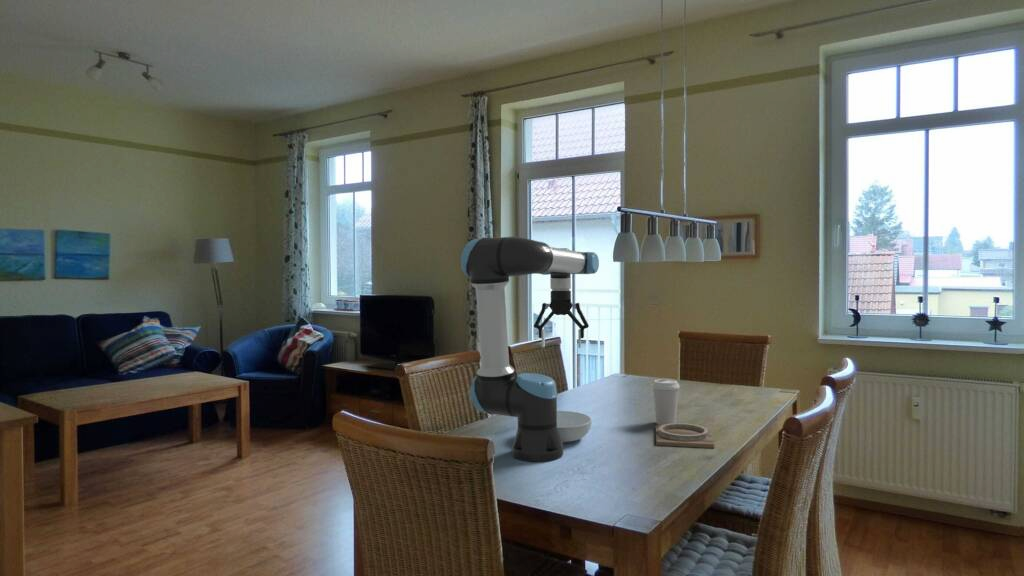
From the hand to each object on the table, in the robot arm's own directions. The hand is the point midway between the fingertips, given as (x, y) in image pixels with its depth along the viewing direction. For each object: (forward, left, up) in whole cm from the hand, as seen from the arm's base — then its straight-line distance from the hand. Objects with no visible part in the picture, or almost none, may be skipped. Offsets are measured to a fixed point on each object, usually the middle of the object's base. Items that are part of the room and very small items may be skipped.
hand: (561, 347), depth 225 cm
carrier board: (-22, -42, -26) cm, 54 cm away
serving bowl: (-30, -3, -26) cm, 40 cm away
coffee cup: (-5, -37, -26) cm, 46 cm away
